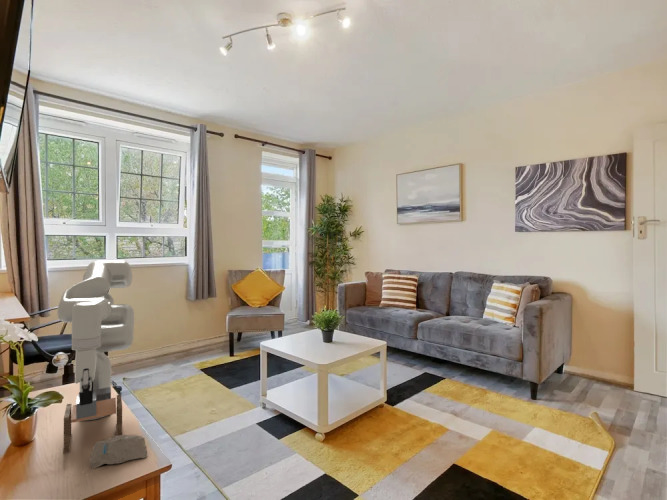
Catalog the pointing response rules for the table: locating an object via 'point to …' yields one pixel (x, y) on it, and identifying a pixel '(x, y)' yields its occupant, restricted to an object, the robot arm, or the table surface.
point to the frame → (68, 424)
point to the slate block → (86, 408)
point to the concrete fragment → (118, 450)
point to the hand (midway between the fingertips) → (86, 399)
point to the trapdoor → (99, 405)
